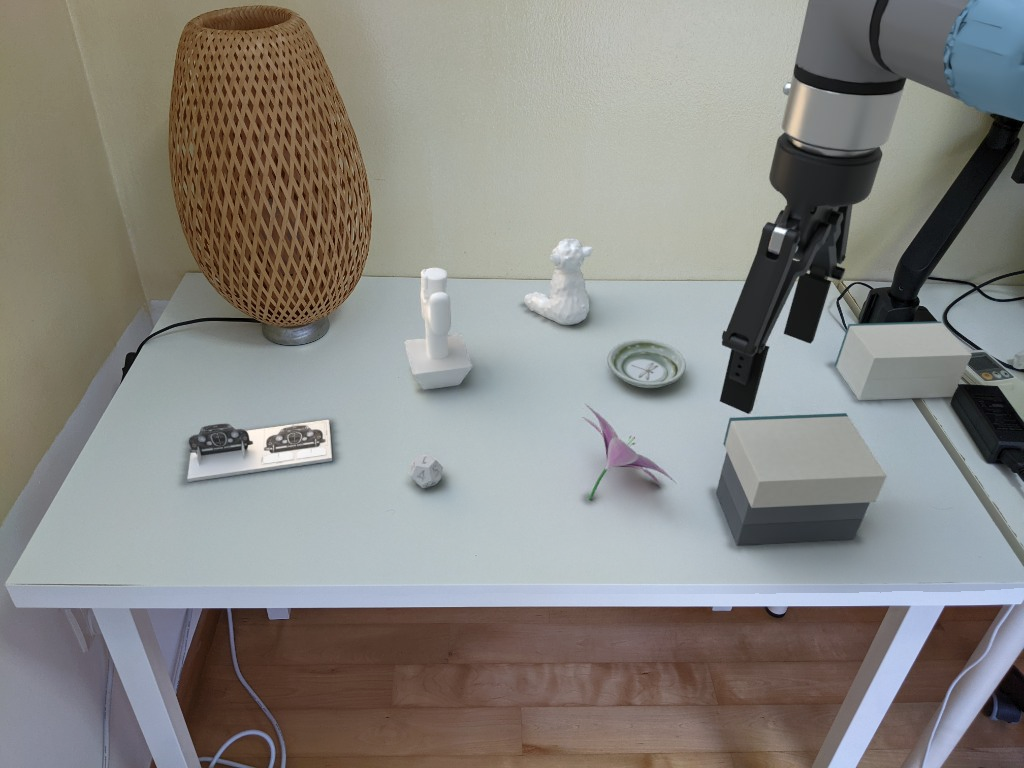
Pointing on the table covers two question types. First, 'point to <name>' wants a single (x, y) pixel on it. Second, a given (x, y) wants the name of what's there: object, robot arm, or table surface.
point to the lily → (621, 452)
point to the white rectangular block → (901, 360)
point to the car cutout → (256, 449)
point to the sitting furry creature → (564, 286)
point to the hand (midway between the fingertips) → (768, 369)
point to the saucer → (646, 363)
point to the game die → (425, 470)
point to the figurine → (437, 338)
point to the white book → (802, 460)
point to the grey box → (784, 517)
